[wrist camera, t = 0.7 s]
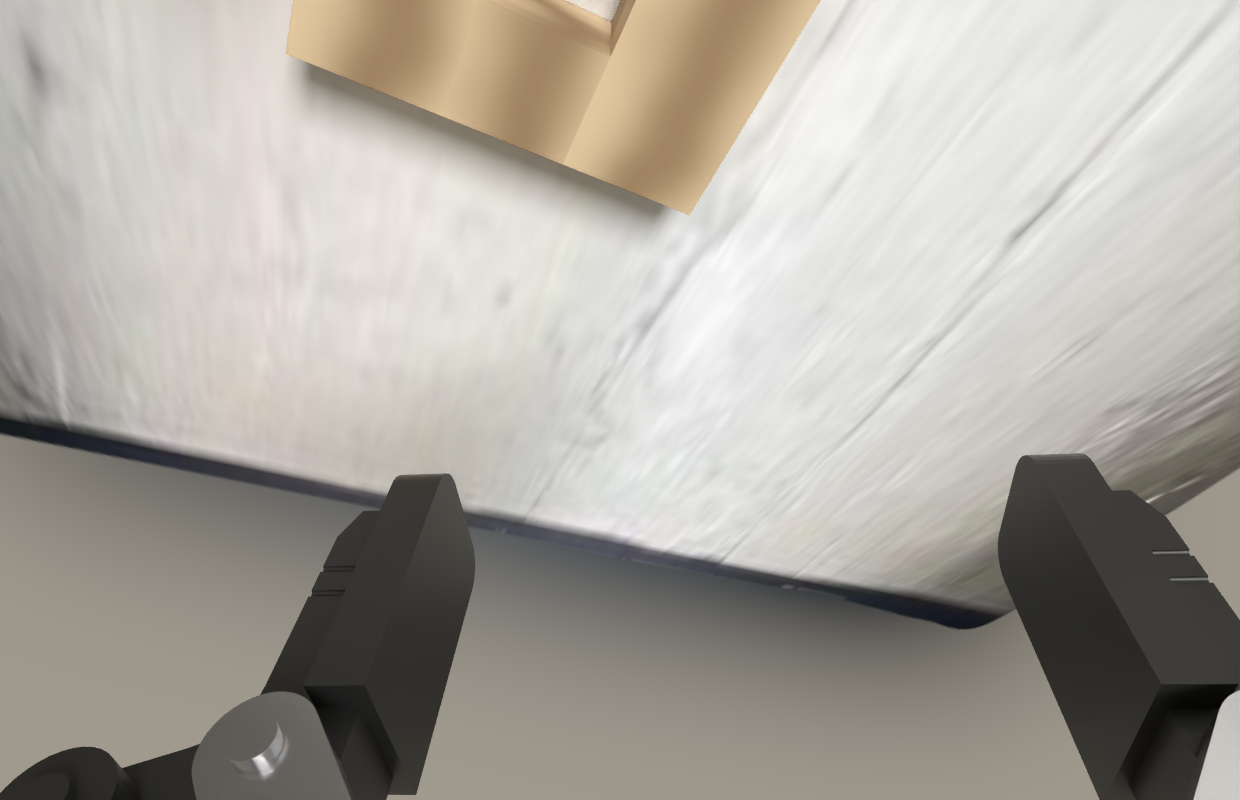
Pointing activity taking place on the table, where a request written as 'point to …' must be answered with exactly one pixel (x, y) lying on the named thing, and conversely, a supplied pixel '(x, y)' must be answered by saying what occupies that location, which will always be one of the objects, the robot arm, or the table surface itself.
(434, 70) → the board
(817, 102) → the table surface
